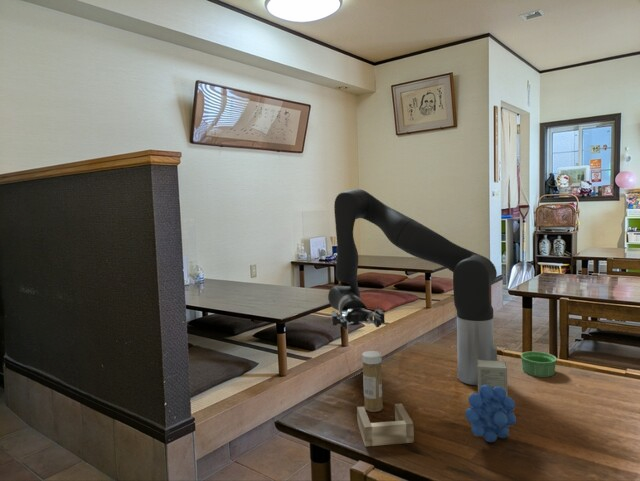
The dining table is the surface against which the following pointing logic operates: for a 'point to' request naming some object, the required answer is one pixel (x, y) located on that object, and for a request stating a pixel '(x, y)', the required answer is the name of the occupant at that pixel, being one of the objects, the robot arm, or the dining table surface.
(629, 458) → the dining table surface
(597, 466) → the dining table surface
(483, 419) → the blue bumpy cluster
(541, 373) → the ramekin
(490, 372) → the skincare box
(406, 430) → the pocket
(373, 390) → the spice jar
